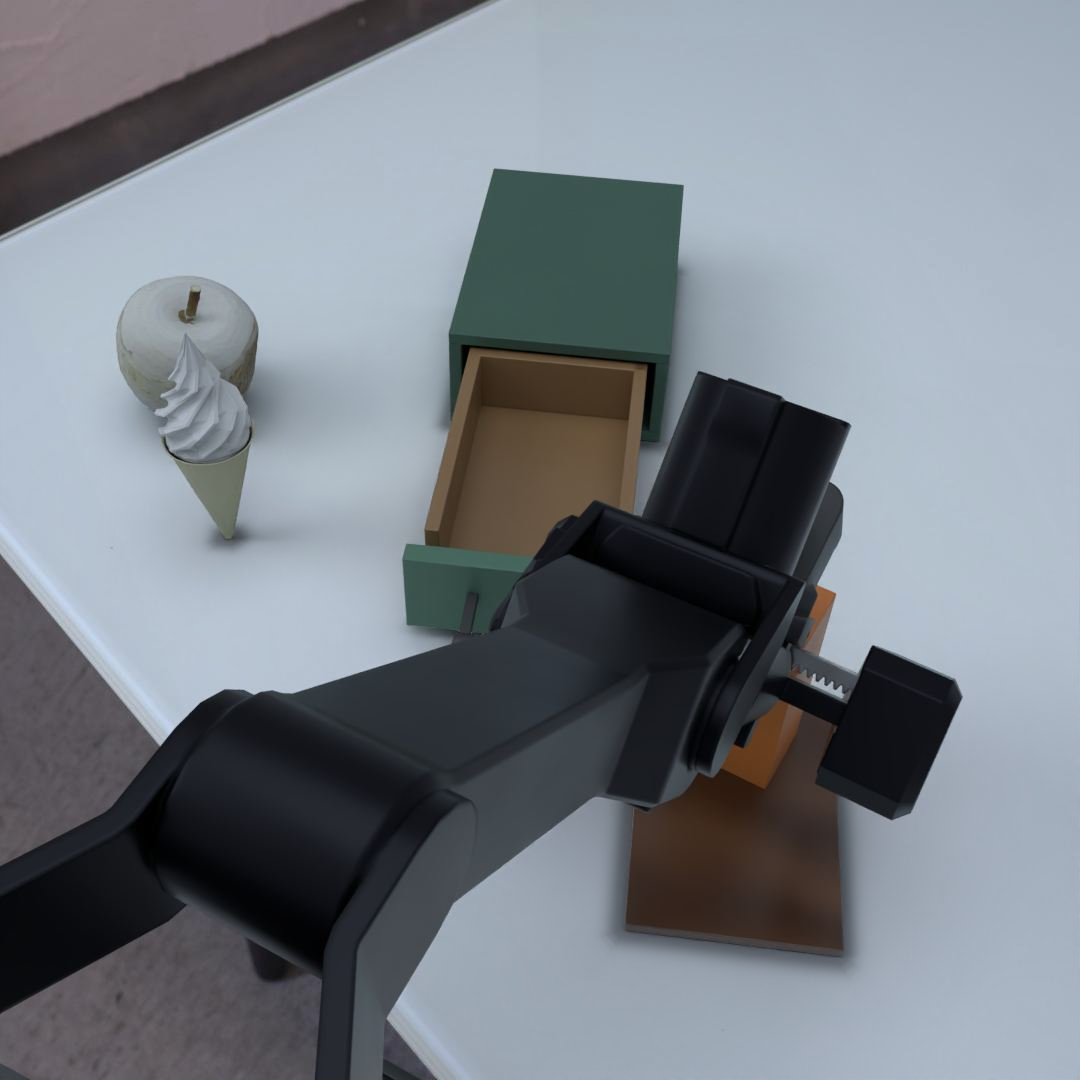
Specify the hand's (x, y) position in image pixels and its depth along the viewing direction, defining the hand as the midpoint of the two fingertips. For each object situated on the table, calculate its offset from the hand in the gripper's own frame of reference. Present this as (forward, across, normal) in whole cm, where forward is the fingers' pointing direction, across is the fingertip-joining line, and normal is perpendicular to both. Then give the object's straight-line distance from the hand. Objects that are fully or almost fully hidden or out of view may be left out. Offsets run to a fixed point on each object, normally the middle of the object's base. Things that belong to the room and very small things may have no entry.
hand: (762, 655), depth 64 cm
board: (+1, -2, +8) cm, 8 cm away
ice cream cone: (+2, +32, +7) cm, 33 cm away
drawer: (+7, +16, 0) cm, 18 cm away
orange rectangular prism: (+3, 0, +5) cm, 6 cm away
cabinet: (+22, +24, -13) cm, 35 cm away
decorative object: (+8, +41, +1) cm, 42 cm away
